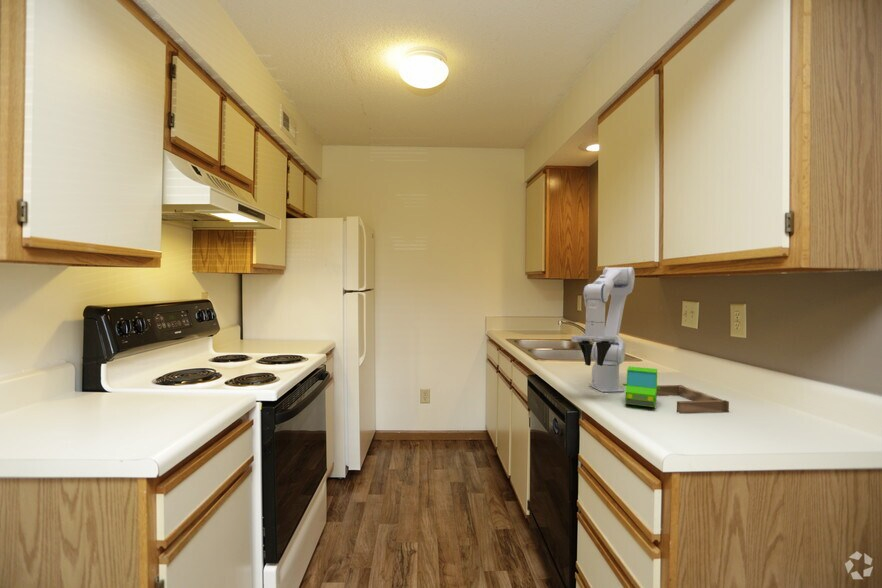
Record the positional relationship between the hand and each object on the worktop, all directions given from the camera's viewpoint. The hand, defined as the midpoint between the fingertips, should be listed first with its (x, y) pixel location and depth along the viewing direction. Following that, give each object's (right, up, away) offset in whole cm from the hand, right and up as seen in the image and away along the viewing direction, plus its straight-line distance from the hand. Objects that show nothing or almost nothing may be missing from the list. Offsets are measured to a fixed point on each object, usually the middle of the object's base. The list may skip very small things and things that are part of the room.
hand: (593, 365), depth 136 cm
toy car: (+12, -11, -6) cm, 17 cm away
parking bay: (+25, -11, -4) cm, 28 cm away
